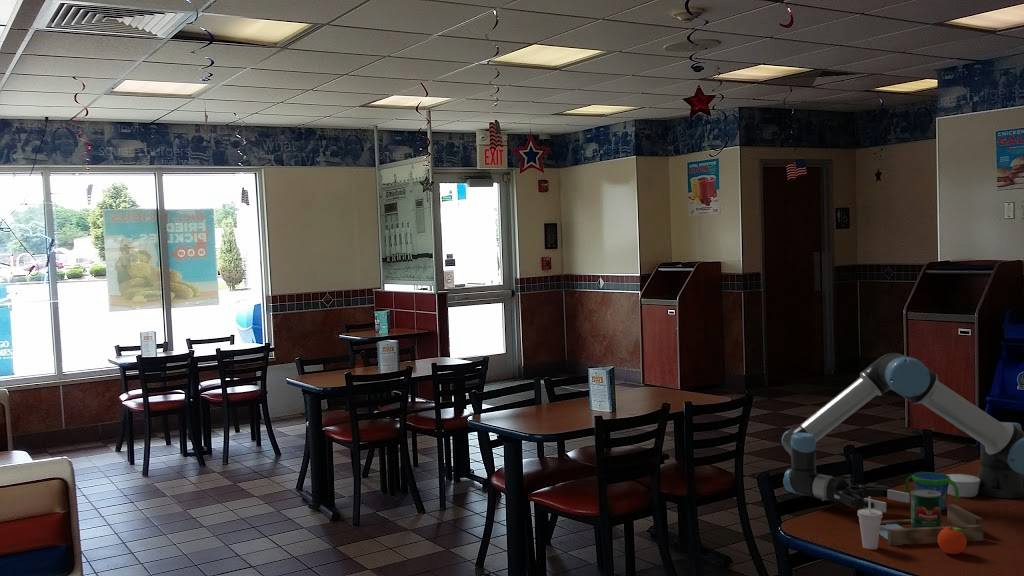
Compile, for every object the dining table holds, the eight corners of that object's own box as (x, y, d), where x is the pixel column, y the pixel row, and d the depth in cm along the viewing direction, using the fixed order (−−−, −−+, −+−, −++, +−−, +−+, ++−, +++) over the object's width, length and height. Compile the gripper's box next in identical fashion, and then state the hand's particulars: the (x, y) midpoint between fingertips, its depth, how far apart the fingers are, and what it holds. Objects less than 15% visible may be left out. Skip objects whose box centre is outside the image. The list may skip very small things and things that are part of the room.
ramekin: (934, 492, 295) (934, 476, 295) (957, 487, 300) (957, 472, 299) (963, 500, 285) (963, 484, 284) (987, 495, 289) (987, 479, 289)
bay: (951, 520, 265) (951, 503, 265) (990, 540, 246) (990, 522, 246) (858, 524, 263) (858, 507, 262) (890, 545, 244) (890, 527, 244)
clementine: (961, 548, 240) (961, 522, 240) (976, 557, 233) (976, 530, 233) (932, 549, 240) (932, 523, 240) (945, 558, 233) (945, 531, 233)
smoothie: (856, 549, 242) (855, 498, 241) (859, 542, 247) (858, 492, 247) (881, 552, 239) (881, 500, 238) (884, 545, 244) (883, 494, 244)
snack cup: (898, 506, 279) (898, 474, 279) (914, 500, 286) (914, 468, 286) (948, 517, 267) (948, 483, 267) (964, 510, 274) (964, 477, 274)
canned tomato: (924, 536, 251) (923, 497, 250) (904, 528, 259) (904, 490, 258) (947, 533, 253) (947, 494, 253) (927, 525, 261) (927, 487, 260)
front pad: (896, 525, 261) (896, 524, 261) (922, 540, 247) (922, 539, 247) (867, 526, 261) (867, 525, 261) (891, 542, 247) (891, 541, 247)
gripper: (852, 493, 286) (918, 506, 270) (809, 508, 270) (875, 524, 254) (852, 469, 286) (918, 482, 269) (808, 484, 270) (875, 498, 254)
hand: (897, 502), depth 262 cm, fingers open, 13 cm apart
